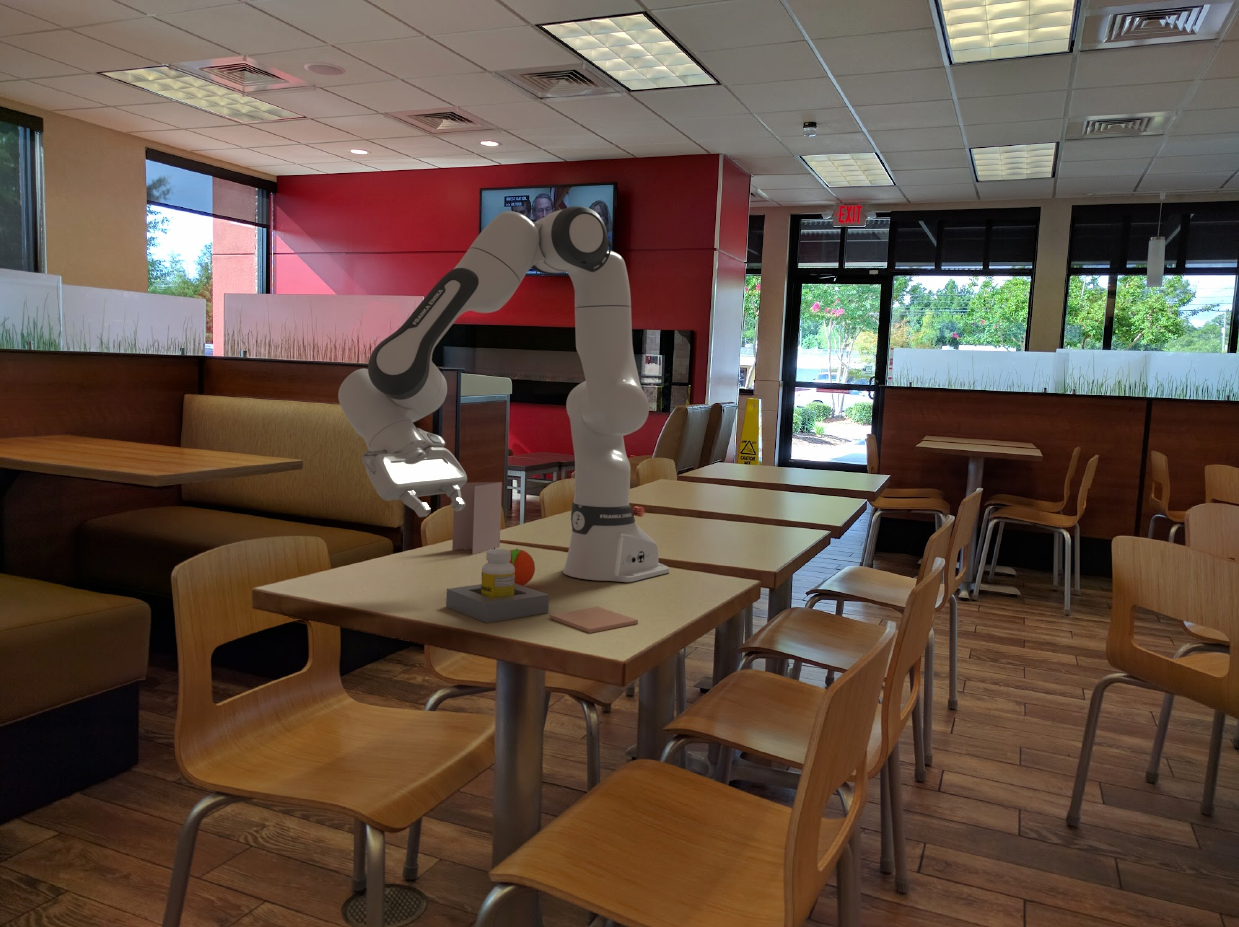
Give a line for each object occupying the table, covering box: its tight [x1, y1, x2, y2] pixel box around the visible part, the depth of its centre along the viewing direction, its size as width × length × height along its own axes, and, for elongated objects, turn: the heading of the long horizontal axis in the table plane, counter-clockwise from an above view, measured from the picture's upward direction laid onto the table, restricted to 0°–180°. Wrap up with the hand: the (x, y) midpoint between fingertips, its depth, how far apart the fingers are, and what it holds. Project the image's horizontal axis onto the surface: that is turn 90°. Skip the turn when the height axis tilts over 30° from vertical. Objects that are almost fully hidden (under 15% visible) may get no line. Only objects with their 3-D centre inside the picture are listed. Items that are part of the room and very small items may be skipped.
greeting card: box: [451, 481, 503, 556], centre depth 194 cm, size 11×7×15 cm, turn 122°
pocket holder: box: [445, 583, 550, 624], centre depth 143 cm, size 12×12×3 cm
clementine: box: [508, 549, 536, 586], centre depth 160 cm, size 8×7×7 cm
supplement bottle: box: [481, 548, 515, 599], centre depth 143 cm, size 5×5×10 cm
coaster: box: [549, 606, 639, 634], centre depth 139 cm, size 10×10×1 cm
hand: (444, 511), depth 147 cm, fingers open, 8 cm apart
